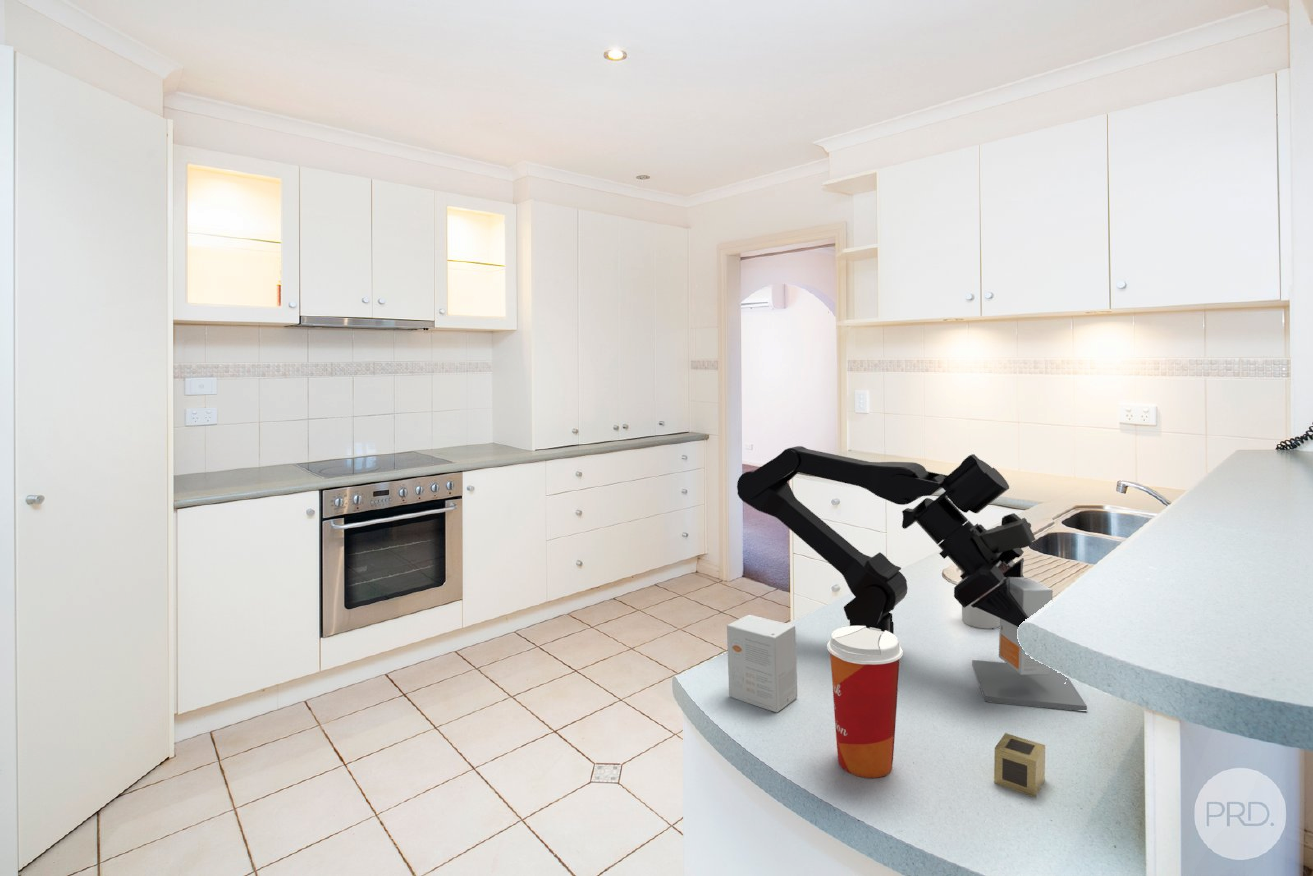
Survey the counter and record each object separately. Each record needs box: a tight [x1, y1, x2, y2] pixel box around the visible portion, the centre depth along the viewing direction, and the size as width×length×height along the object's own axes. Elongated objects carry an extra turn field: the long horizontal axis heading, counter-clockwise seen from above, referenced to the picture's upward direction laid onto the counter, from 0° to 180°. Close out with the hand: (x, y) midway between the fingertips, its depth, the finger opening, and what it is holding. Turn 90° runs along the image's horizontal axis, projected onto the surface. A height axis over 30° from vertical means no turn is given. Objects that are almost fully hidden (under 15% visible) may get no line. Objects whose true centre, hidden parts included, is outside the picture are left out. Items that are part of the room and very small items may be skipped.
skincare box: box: [998, 576, 1054, 675], centre depth 94 cm, size 6×4×12 cm
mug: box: [960, 570, 1000, 630], centre depth 120 cm, size 10×7×12 cm, turn 162°
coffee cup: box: [826, 625, 904, 779], centre depth 77 cm, size 8×8×15 cm
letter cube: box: [993, 732, 1046, 798], centre depth 73 cm, size 4×4×4 cm
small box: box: [726, 614, 798, 713], centre depth 94 cm, size 8×6×10 cm
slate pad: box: [971, 659, 1088, 711], centre depth 95 cm, size 12×12×1 cm
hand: (1035, 621), depth 93 cm, fingers closed on skincare box, 7 cm apart
